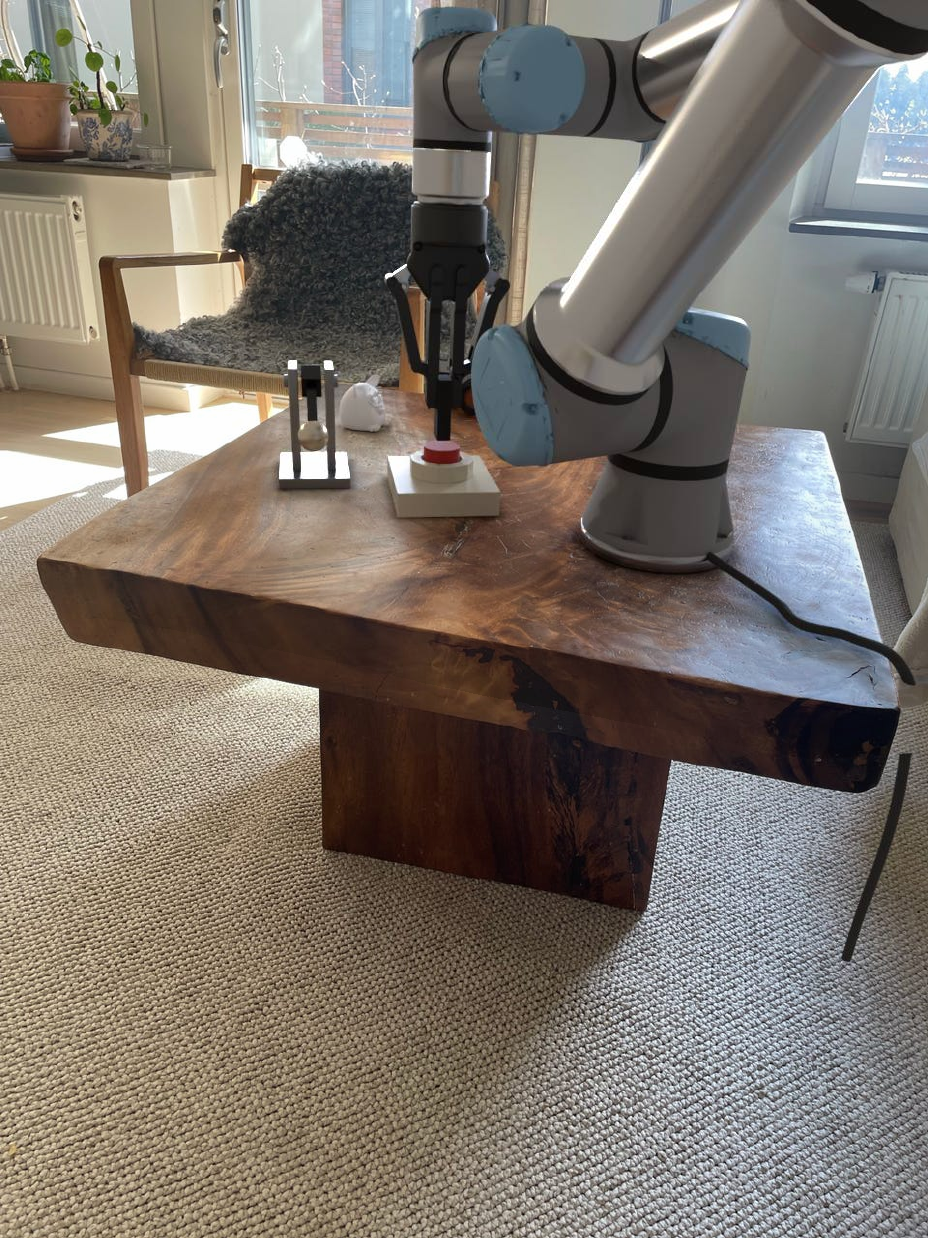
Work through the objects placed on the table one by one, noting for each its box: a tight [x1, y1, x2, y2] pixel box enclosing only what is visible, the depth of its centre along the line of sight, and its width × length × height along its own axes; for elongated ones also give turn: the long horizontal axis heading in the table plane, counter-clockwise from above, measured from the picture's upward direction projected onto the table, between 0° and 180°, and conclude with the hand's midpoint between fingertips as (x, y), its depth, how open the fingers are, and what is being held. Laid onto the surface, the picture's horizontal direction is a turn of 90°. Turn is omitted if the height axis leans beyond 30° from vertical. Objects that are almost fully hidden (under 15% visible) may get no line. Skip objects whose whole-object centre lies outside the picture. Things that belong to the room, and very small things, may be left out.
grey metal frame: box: [278, 360, 351, 490], centre depth 102 cm, size 10×8×13 cm
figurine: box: [338, 373, 390, 433], centre depth 123 cm, size 8×6×7 cm
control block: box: [386, 449, 501, 518], centre depth 100 cm, size 13×11×4 cm
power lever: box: [298, 364, 328, 452], centre depth 97 cm, size 13×3×3 cm, turn 9°
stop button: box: [423, 440, 461, 464], centre depth 98 cm, size 4×4×2 cm
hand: (441, 437), depth 98 cm, fingers closed
